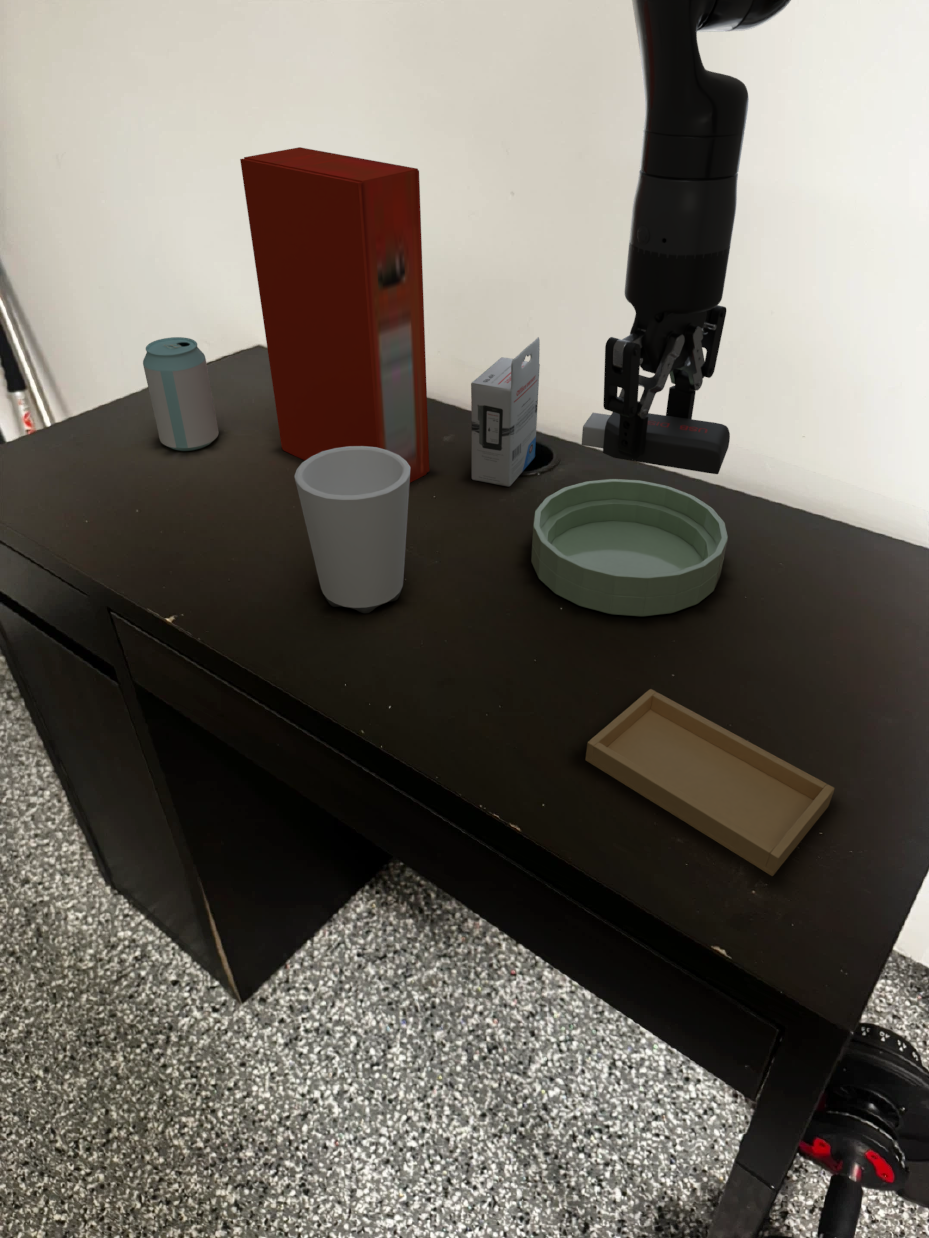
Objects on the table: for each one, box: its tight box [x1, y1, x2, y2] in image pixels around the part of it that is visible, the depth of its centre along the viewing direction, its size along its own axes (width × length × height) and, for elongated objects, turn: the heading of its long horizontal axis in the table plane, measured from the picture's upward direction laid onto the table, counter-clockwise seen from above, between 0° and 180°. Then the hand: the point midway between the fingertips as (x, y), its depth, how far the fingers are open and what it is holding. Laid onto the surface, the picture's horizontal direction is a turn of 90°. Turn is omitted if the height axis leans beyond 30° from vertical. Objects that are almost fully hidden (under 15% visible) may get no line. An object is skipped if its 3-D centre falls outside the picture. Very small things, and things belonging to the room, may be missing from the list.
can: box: [142, 336, 220, 452], centre depth 106 cm, size 7×7×12 cm
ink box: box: [470, 336, 541, 488], centre depth 99 cm, size 8×5×15 cm, turn 156°
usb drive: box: [581, 412, 731, 475], centre depth 76 cm, size 5×12×3 cm, turn 68°
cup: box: [293, 446, 411, 614], centre depth 80 cm, size 10×10×13 cm
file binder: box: [239, 147, 430, 483], centre depth 95 cm, size 8×17×32 cm, turn 48°
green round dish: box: [530, 478, 729, 617], centre depth 86 cm, size 18×18×4 cm
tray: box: [584, 688, 836, 877], centre depth 64 cm, size 15×8×2 cm, turn 47°
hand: (654, 441), depth 77 cm, fingers closed on usb drive, 6 cm apart
